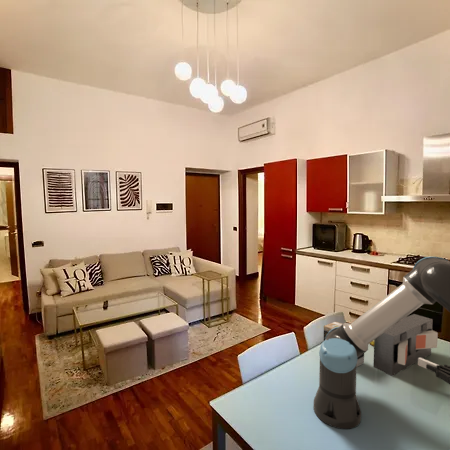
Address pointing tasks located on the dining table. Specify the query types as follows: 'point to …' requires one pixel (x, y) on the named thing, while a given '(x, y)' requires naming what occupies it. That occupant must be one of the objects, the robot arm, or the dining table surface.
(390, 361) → the grey panel with openings
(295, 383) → the dining table surface
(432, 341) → the rocker
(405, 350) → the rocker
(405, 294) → the robot arm
